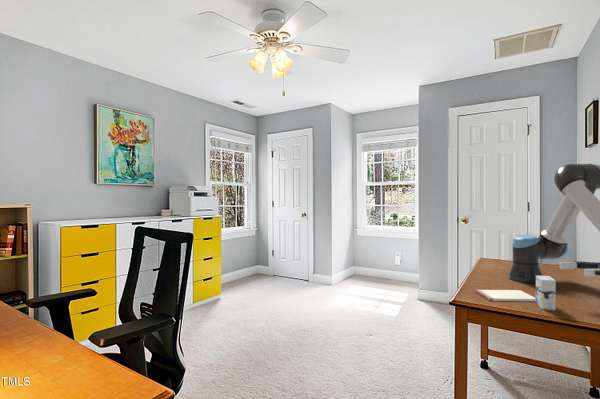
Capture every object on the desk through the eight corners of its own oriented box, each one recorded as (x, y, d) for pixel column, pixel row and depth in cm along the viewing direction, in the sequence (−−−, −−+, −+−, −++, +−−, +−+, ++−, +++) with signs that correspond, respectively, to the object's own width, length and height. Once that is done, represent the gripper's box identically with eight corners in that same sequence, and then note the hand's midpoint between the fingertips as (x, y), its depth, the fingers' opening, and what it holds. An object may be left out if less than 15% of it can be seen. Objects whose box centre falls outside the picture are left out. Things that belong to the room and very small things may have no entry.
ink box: (535, 302, 143) (535, 274, 143) (549, 303, 141) (549, 275, 141) (541, 309, 135) (541, 279, 135) (556, 310, 133) (556, 280, 133)
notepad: (519, 292, 157) (520, 289, 157) (537, 301, 144) (537, 298, 144) (475, 291, 159) (475, 289, 159) (489, 300, 146) (489, 298, 146)
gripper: (658, 286, 123) (597, 286, 124) (602, 271, 148) (551, 271, 149) (658, 265, 123) (596, 265, 124) (601, 254, 148) (550, 254, 149)
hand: (571, 268), depth 137 cm, fingers open, 13 cm apart
